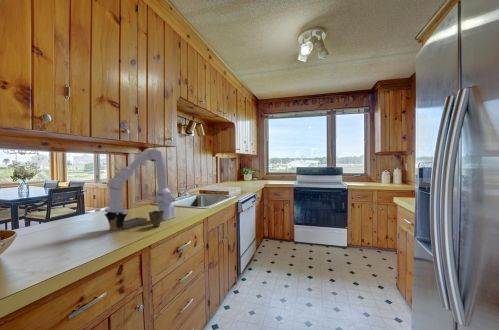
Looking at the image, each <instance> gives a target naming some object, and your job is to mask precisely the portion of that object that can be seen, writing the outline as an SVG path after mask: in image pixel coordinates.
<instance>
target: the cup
mask: <svg viewBox="0 0 499 330" xmlns="http://www.w3.org/2000/svg"><path fill="white" fill-rule="evenodd" d="M163 213H164V211H163V210H162V211H160V212H158V209H157V210H152V211H148V216H149V221H150V223H151V224H152V226H153V227H155V228H157V227H160V226H161V223H162V222H163V221H164V220H163Z"/></svg>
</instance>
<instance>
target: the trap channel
mask: <svg viewBox="0 0 499 330" xmlns="http://www.w3.org/2000/svg"><path fill="white" fill-rule="evenodd" d="M146 223H148V217H141V216H137V217H133V218H129V219H124V229H125V230H127V229H130V228H132V227H134V228H135V227H136V226H140V225H143V224H146Z"/></svg>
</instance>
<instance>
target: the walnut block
mask: <svg viewBox="0 0 499 330" xmlns="http://www.w3.org/2000/svg"><path fill="white" fill-rule="evenodd" d="M124 229H125V225H124V222H123V226H122V227H120V228H118V227H117V220H116V219H114V220H110V225H109V230H110V231H113V232H117V231H122V230H124Z"/></svg>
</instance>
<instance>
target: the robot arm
mask: <svg viewBox="0 0 499 330" xmlns="http://www.w3.org/2000/svg"><path fill="white" fill-rule="evenodd" d="M148 161H150V162H151V163H153V164H155V169H156V178H157V180H156V181H157V190H156V196H155V201H156V203H157V210H158V212H160V211H162V210H163V211H164V213H163V220H162V221H167V220H170V219H174V218H176V216H175V205H174V204H173V203H172V202H173V199H174V197H173V195H172V192H171V190H170V189H169V186H168V178H167V166H166V159H165V158H164V155H163V154H162V151H161V150H160V149H158V148H156V147H155V148H146V149H144V150H143V151H142V152H141V153H140V154H139V155H138V156H137V157H136V158H135V159H134V160H133V161H132V162H131V163H130V164H129V165H128V166H123V167H121V168H120V170H119V172H117V174H114V175H113V177H111V178H109V179H108V182H107V183H106V186H107V187H108V190H109V192H108V194H109V195H108V198H109V199H108V200H109V204H108V205H109V206H108V207H106V208H104V216H105V217H106V219H107V222H108V223H109V226H110V220H114V219H116V220H117V227H118V228H120V227H122V226H123V222H124V220H126V217H127V216H128V209H126V208H123V188H124V186H125V183H126V182H127V181H128V180H129V179H130V178H131V177H132V176H133V175H134V171H135V170H137V168H138V167H140V166H141V165H142V164H143V163H144V162H148Z"/></svg>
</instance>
